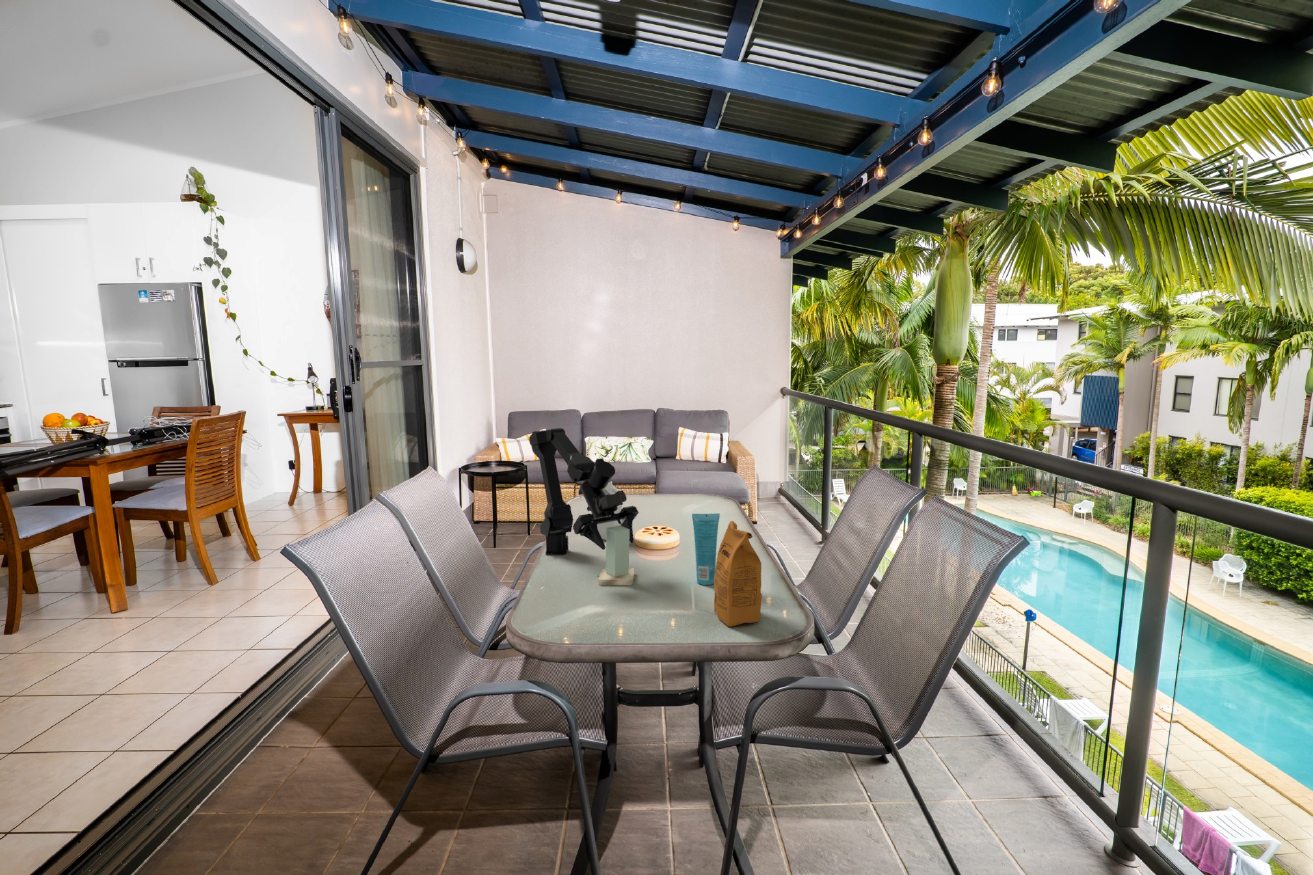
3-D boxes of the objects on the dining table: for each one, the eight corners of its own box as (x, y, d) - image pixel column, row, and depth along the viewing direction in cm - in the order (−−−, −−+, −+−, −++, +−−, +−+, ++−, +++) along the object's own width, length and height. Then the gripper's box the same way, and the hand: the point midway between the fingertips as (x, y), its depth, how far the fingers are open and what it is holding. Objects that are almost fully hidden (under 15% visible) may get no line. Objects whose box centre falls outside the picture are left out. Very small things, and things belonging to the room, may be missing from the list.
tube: (716, 578, 168) (717, 510, 165) (721, 584, 163) (721, 515, 161) (690, 580, 166) (690, 512, 164) (694, 586, 162) (694, 516, 159)
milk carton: (595, 539, 205) (594, 484, 203) (603, 533, 212) (602, 480, 210) (614, 541, 203) (614, 485, 201) (622, 535, 210) (621, 481, 208)
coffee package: (747, 604, 149) (749, 518, 147) (765, 626, 137) (767, 531, 135) (708, 607, 148) (709, 520, 145) (723, 629, 136) (724, 534, 133)
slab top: (598, 584, 161) (598, 579, 161) (602, 573, 170) (602, 568, 170) (631, 585, 161) (631, 579, 161) (634, 573, 170) (634, 568, 170)
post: (605, 572, 166) (606, 527, 164) (619, 569, 169) (620, 525, 167) (614, 577, 162) (615, 531, 161) (628, 573, 165) (629, 529, 164)
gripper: (577, 486, 160) (600, 535, 152) (634, 477, 171) (658, 523, 164) (563, 509, 167) (584, 558, 160) (619, 500, 178) (641, 545, 171)
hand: (618, 545), depth 163 cm, fingers open, 9 cm apart
